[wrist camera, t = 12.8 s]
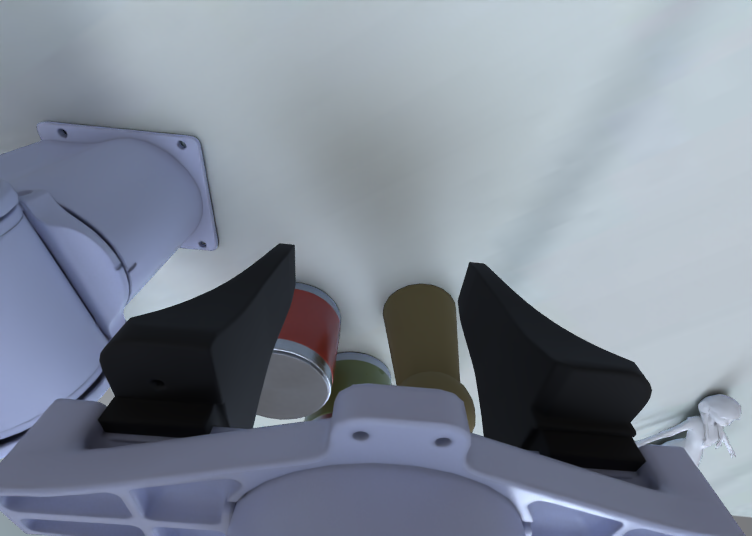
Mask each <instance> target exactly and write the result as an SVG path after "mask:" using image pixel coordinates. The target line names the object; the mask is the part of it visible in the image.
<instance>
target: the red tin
mask: <svg viewBox="0 0 752 536" xmlns="http://www.w3.org/2000/svg"><path fill="white" fill-rule="evenodd" d="M340 325H341V316H340V312H339V309H338V307H337V305H336V304H335V302H334V301H333V300H332V299H331V298H330V297H329V296H328V295H327V294H326V293H324V292H323V291H321V290H319V289H318V288H316V287H313V286H311V285H307V284H303V283H297V282H296V286H295V290H294V294H293V299H292V302H291V306H290V309H289V311H288V314H287V316H286V319H285V322H284V324H283V327H282V329H281V332H280V334H279V337H278V339H277V342H276V344H275V347H274V349H273V352H272V355H271V358H270V362H269V365H268V369H267V373H266V376H265V380H264V384H263V388H262V392H261V396H260V400H259V404H258V408H257V413H256V415H259V416H263V417H267V418H273V419H297V418H302V417H305V416H308V415H311V414H313V413H315V412H316V411H318V410H319V409H320V408H321V407H322V406H323V405H324V404H325V403H326V402H327V400H328V399H329V397H330V393H331V388H332V384H333V379H334V372H335V364H336V357H337V350H338V343H339V336H340Z"/></svg>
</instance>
